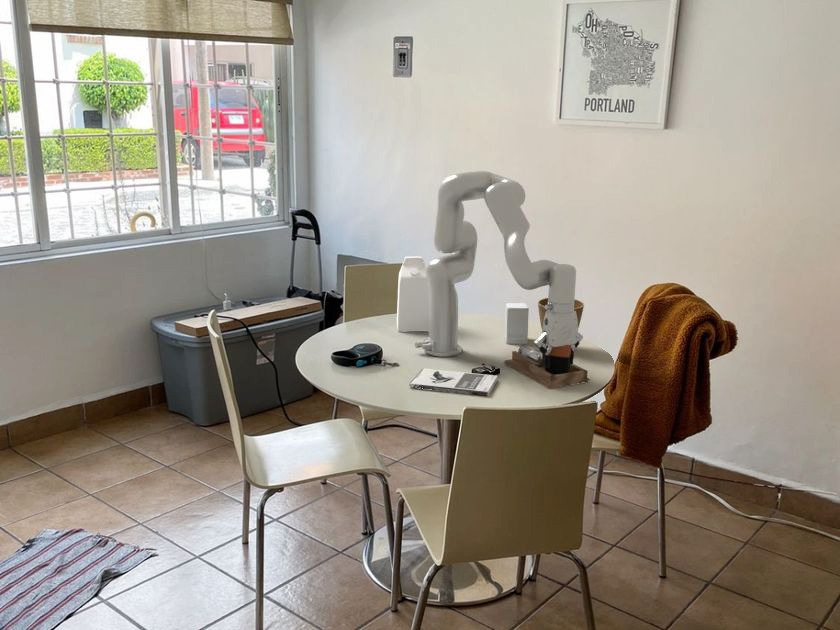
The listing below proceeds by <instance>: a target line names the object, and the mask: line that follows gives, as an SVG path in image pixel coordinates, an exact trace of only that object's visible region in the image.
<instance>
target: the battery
mask: <svg viewBox="0 0 840 630" xmlns="http://www.w3.org/2000/svg"><path fill="white" fill-rule="evenodd" d="M547 348H548V346H547V347H546V350H547ZM549 355H551V362H550V368H547V367H545V371H547V372H548V373H551V374H564V373H569V371H570V359H571V345H565V346H562V347H555V348H552V349H551V351H550V353H549Z"/></svg>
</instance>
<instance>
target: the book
mask: <svg viewBox="0 0 840 630" xmlns="http://www.w3.org/2000/svg"><path fill="white" fill-rule="evenodd" d="M497 382H498V375H493V374H485V373H484V374H482V373H474V372H473V373H471V372H465V371H464V372H463V371H455V370H453V371H452V370H445V369H444V370H443V369H433V368H422V369H421V370H420V371H419V372H418V373H417V374H416V376H415V377H413V379H412V380H411V381H410V382H409V384H408V385H409V387H413V388H412V389H414V388H420V389H419V390H423V389H432V390H439V391H438V392H441V391H446V392H445V393H450V392H453V393H452V394H459V393H461V394H462V395H470V396H478V397H479V396H480V397H488V396H489V395H490V393H491V392H492V390H493V389H494V387H495V386H496V383H497ZM409 387H408V388H409ZM422 388H423V389H422ZM432 390H431V391H432Z"/></svg>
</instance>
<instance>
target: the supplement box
mask: <svg viewBox="0 0 840 630" xmlns="http://www.w3.org/2000/svg"><path fill="white" fill-rule="evenodd" d="M528 331H529V306H528V305H527V302H518V303H517V302H516V303H515V302H510V303H509V302H507V303H505V308H504V335H503V336H504V340H505V343H506V344H507V345H509V344H510V345H511V344H513V345H515V344H516V345H517V344H518V345H520V344H521V345H527V344H528V339H529V338H528V336H529V335H528V333H529V332H528Z"/></svg>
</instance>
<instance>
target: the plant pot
mask: <svg viewBox="0 0 840 630" xmlns="http://www.w3.org/2000/svg"><path fill="white" fill-rule="evenodd" d="M547 304H548V297H546V298H541V299H539V300H538V301H537V305H538V306H537V308H538V314H539V321H540V322H539V323H540V326H541V330H542V329H543V322H544V317H545V313H546V311H548V310H546V309H545V305H547ZM584 308H585V303H584V302H583V301H581V300H579V299H576V298H575V300H574V311H576V314H577V320H578V329H579V328H580V323H581V320H582V317H583V312H584Z"/></svg>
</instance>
